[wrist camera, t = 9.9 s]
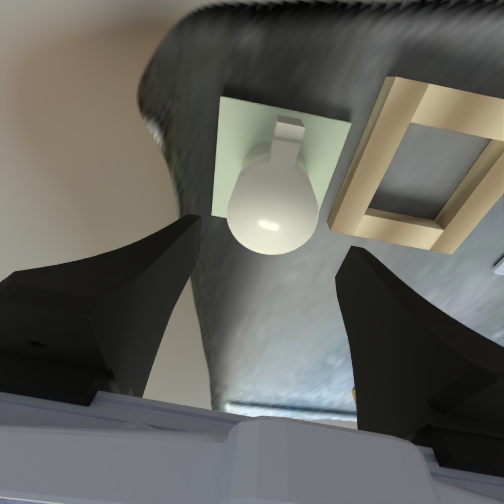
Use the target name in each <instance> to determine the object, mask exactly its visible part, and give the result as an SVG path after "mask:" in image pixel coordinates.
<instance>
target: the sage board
mask: <svg viewBox="0 0 504 504" xmlns="http://www.w3.org/2000/svg"><path fill="white" fill-rule="evenodd" d="M277 115H282V116H286V117H291V118H296V119H301V121H302V123H303V125H304V126H305V130H304V134H303V138H302V141H301V145H300V149H299V154H300V155H301V157H302V159H303V161H304V164H305V167H306V170H307V173H308V176H309V179H310V182H311V185H312V188H313V191H314V194H315V197H316V200H317V203H318V208H319V210H320V207H321V205H322V202H323V199H324V196H325V194H326V191H327V188H328V186H329V183H330V180H331V178H332V175H333V172H334V170H335V167H336V164H337V162H338V159H339V156H340V153H341V151H342V148H343V145H344V143H345V140H346V137H347V135H348V132H349V129H350V127H351V124H352V123H350V122H347V121H342V120H337V119H332V118H328V117H323V116H318V115H313V114H308V113H303V112H298V111H293V110H289V109H284V108H279V107H274V106H269V105H264V104H259V103H254V102H250V101H245V100H240V99H235V98H230V97H225V96H220V109H219V123H218V136H217V150H216V163H215V177H214V191H213V204H212V215H214V216H219V217H224V218H227V206H228V202H229V200H230V197H231V194H232V192H233V189H234V186H235V184H236V181H237V178H238V176H239V173H240V170H241V167H242V165H243V162H244V160H245V158H246V156H247V155H248V154H249V152H250V151H251V150H252V149H254V148H255V147H256V146H258V145H260V144H262V143H265V142H269V141H272V138H273V133H274V128H275V123H276V118H277Z"/></svg>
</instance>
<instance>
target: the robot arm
mask: <svg viewBox="0 0 504 504" xmlns="http://www.w3.org/2000/svg"><path fill="white" fill-rule="evenodd" d="M200 235H201V216H197V215H192V214H187V215H185V216H184V217H182V218H180V219H179V220H177V221H175V222H174V223H172V224H170V225H168V226H167V227H165V228H163V229H161V230H160V231H158V232H155V233H153V234H151V235H149V236H147V237H146V238H143V239H141V240H139V241H137V242H134V243H132V244H130V245H127V246H124V247H122V248H119V249H116V250H113V251H110V252H106V253H103V254H100V255H97V256H93V257H89V258H85V259H81V260H77V261H72V262H68V263H63V264H58V265H53V266H46V267H41V268H34V269H28V270H21V271H15V272H13V273H12V274H11V275H9V276H8V277H7V278H5V279H4V280H2V281H1V282H0V504H504V347H502V346H501V345H499V344H497V343H495V342H493V341H491V340H489V339H487V338H486V337H484V336H482V335H480V334H479V333H477V332H475V331H473V330H472V329H470V328H468V327H466V326H465V325H463V324H462V323H460V322H458V321H457V320H455V319H453V318H452V317H450V316H449V315H447V314H446V313H444V312H443V311H441V310H440V309H438V308H437V307H435V306H434V305H433V304H431V303H430V302H428V301H427V300H426V299H424V298H423V297H422V296H420V295H419V294H418V293H416V292H415V291H414V290H413V289H411V288H410V287H409V286H408V285H406V284H405V283H404V282H403V281H402V280H401V279H399V278H398V277H397V276H396V275H395V274H394V273H393V272H391V271H390V270H389V269H388V268H387V267H386V266H385V265H384V264H382V263H381V262H380V261H379V260H378V259H377V258H376V257H375V256H373V255H372V254H371V253H370V252H369V251H367V250H366V249H364V248H361V247H356V246H351V247H350V249H349V251H348V253H347V255H346V257H345V259H344V261H343V263H342V265H341V267H340V268H339V270H338V272H337V274H336V276H335V282H336V292H337V298H338V302H339V306H340V310H341V313H342V317H343V321H344V325H345V328H346V332H347V336H348V341H349V345H350V352H351V359H352V366H353V375H354V384H355V395H356V407H357V426H358V430H356V429H350V428H344V427H338V426H332V425H327V424H321V423H315V422H310V421H304V420H298V419H292V418H287V417H274V416H258V417H249V416H243V415H237V414H232V413H226V412H220V411H214V410H208V409H203V408H196V407H191V406H185V405H179V404H174V403H167V402H162V401H156V400H150V399H144V398H142V396H143V393H144V390H145V387H146V384H147V381H148V378H149V375H150V371H151V369H152V366H153V363H154V360H155V357H156V354H157V351H158V348H159V346H160V343H161V340H162V337H163V334H164V331H165V329H166V326H167V324H168V321H169V318H170V316H171V313H172V311H173V308H174V307H175V304H176V302H177V300H178V298H179V296H180V294H181V292H182V290H183V289H184V287H185V285H186V283H187V280H188V279H189V277H190V275H191V273H192V271H193V269H194V266H195V264H196V261H197V258H198V255H199V252H200ZM493 272H494V273H496V274H499V275H504V258H502V259H501V260H500V261H499V262H498V263H497V264H496V265H495V266H494V268H493Z"/></svg>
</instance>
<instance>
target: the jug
mask: <svg viewBox="0 0 504 504" xmlns="http://www.w3.org/2000/svg"><path fill="white" fill-rule="evenodd" d="M304 130H305V126H304V125H303V123H302V121H301V119H296V118H291V117H286V116H282V115H277V118H276V123H275V128H274V133H273V138H272V141H269V142H265V143H262V144H260V145H258V146H256V147H255V148H254V149H252V150H251V151H250V152H249V154H248V155H247V156H246V158H245V160H244V162H243V165H242V167H241V170H240V173H239V176H238V178H237V181H236V184H235V186H234V189H233V192H232V194H231V197H230V200H229V202H228V206H227V221H228V225H229V228H230V230H231V232H232V234H233V235H234V237H235V238H236V239H237V240H238V241H239V242H240V243H241V244H242V245H244V246H245V247H247V248H248V249H250V250H252V251H255V252H258V253H262V254H269V255H275V254H283V253H287V252H290V251H292V250H295V249H297V248H298V247H300V246H301V245H303V244H304V243H305V242H306V241H307V240H308V239H309V238H310V237H311V235H312V234H313V232H314V231H315V228H316V226H317V223H318V218H319V208H318V203H317V200H316V197H315V194H314V191H313V188H312V185H311V182H310V179H309V176H308V173H307V170H306V167H305V164H304V161H303V159H302V157H301V155H300V154H299V149H300V145H301V141H302V138H303V134H304Z"/></svg>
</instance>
